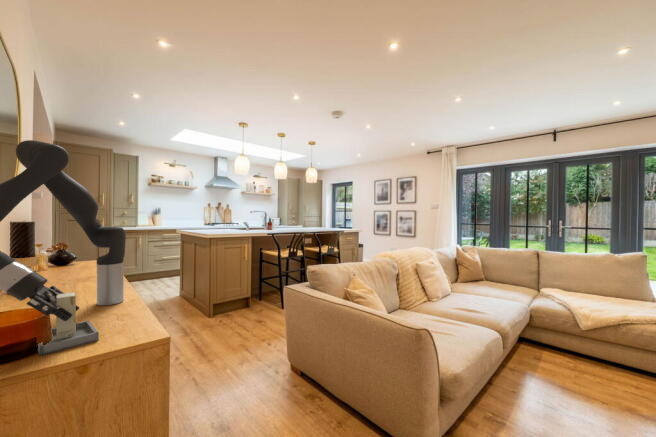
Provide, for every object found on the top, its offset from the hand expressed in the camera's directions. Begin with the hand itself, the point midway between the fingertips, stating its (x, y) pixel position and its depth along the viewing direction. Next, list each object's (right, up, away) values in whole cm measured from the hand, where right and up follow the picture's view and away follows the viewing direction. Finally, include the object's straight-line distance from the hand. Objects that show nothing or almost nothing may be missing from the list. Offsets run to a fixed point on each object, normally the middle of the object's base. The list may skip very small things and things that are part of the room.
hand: (73, 314), depth 86 cm
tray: (-1, -8, -1) cm, 8 cm away
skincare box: (-1, -6, -1) cm, 6 cm away
